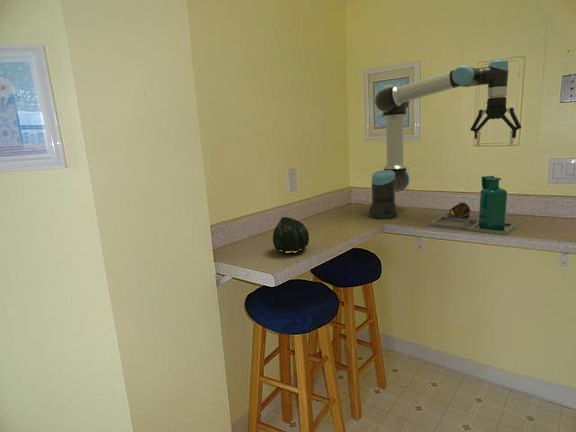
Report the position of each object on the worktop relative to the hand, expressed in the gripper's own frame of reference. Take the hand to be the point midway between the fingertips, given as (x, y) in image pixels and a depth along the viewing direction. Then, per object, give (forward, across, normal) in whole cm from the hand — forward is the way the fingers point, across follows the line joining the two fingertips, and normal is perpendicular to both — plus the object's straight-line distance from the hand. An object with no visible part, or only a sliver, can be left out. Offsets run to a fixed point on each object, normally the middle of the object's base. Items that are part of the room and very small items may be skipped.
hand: (494, 146), depth 176 cm
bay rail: (+35, +4, +15) cm, 38 cm away
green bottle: (+34, -4, +15) cm, 38 cm away
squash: (+35, +51, +85) cm, 105 cm away
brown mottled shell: (+35, +15, +1) cm, 38 cm away
